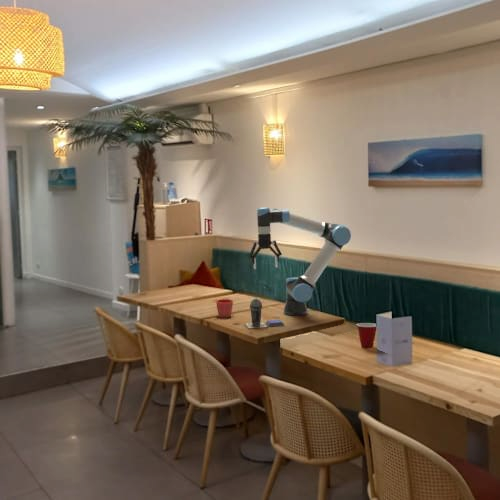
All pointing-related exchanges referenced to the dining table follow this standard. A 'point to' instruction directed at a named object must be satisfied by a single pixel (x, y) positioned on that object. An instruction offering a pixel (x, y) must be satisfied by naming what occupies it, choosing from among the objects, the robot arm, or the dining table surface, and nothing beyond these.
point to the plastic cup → (366, 334)
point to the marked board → (262, 325)
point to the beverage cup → (256, 312)
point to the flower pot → (224, 307)
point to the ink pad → (274, 323)
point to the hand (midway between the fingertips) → (265, 268)
